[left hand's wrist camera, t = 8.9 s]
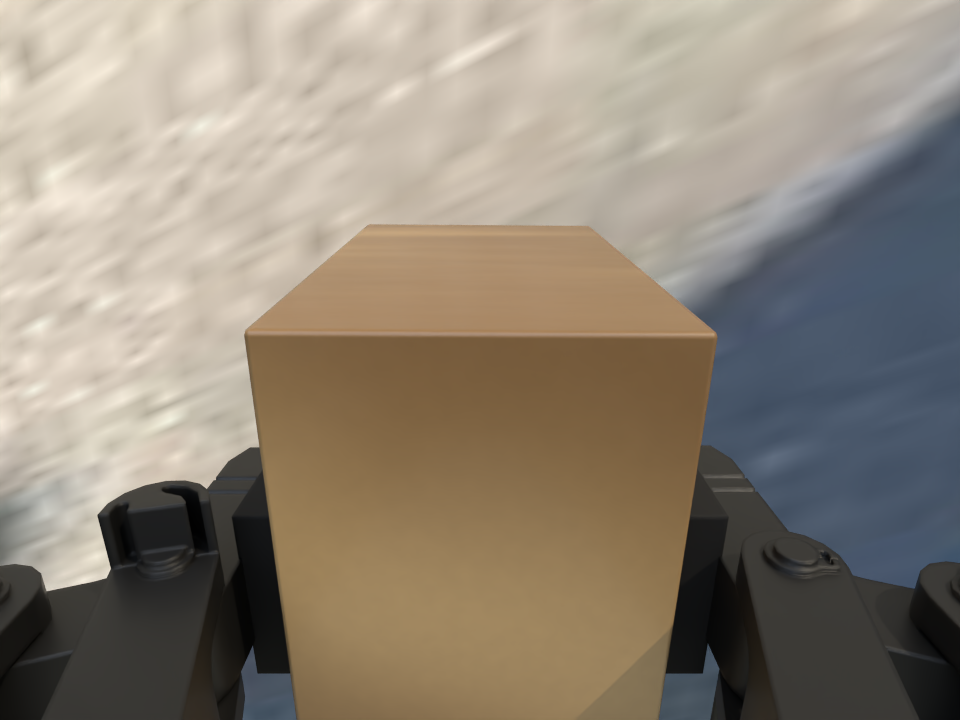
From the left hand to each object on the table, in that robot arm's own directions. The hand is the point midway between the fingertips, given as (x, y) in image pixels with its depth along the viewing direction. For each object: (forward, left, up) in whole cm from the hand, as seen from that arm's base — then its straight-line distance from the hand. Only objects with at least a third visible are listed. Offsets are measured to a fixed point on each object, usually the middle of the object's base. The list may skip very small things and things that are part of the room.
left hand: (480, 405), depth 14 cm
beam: (+11, +33, 0) cm, 34 cm away
